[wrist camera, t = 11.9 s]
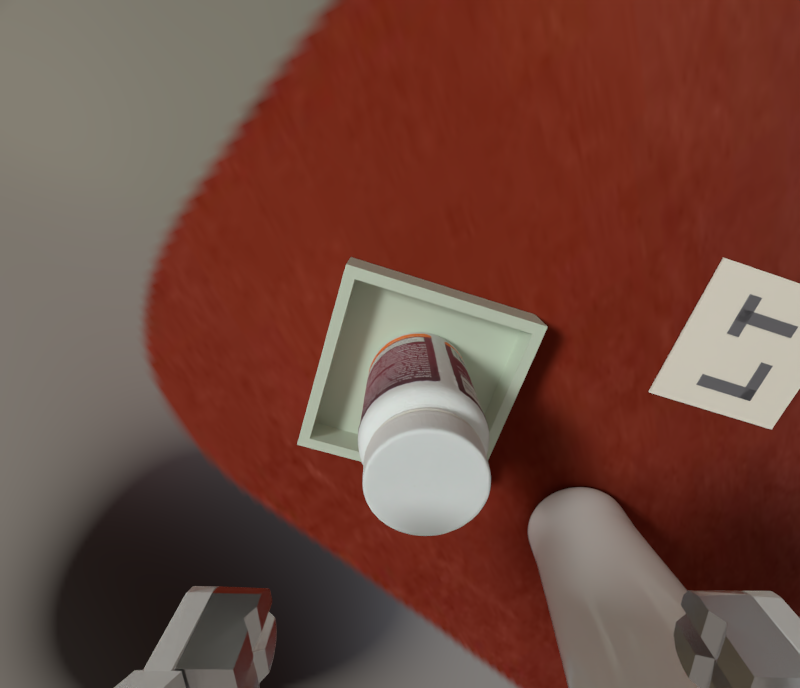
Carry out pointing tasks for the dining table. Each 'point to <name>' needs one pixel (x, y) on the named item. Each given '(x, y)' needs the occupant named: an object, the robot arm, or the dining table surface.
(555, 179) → the dining table surface
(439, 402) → the pill bottle
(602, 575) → the drinking glass
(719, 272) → the coaster
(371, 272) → the sage tray
